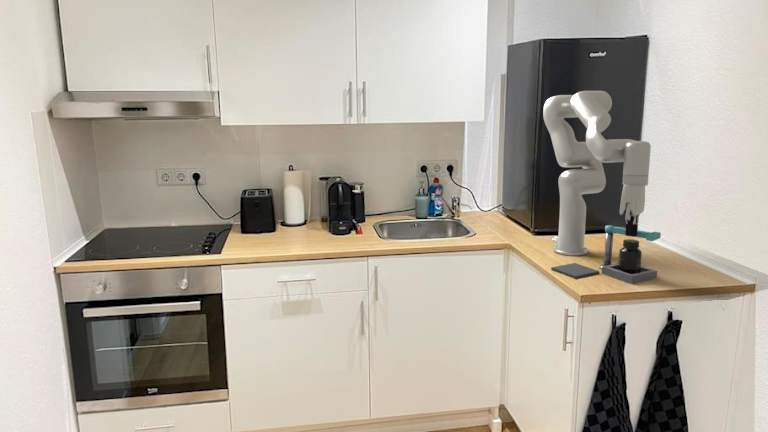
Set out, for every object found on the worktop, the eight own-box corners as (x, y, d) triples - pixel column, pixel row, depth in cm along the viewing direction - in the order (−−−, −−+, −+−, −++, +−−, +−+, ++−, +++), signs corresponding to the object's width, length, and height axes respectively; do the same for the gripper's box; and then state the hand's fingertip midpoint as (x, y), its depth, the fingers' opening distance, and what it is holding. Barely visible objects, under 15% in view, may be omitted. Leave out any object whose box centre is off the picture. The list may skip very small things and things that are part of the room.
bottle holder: (601, 273, 190) (602, 266, 189) (626, 268, 195) (627, 261, 195) (631, 283, 180) (632, 276, 179) (656, 277, 185) (657, 270, 184)
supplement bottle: (634, 272, 191) (637, 238, 188) (643, 278, 184) (647, 243, 182) (614, 272, 191) (616, 238, 188) (623, 279, 184) (626, 243, 181)
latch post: (596, 267, 196) (598, 231, 194) (606, 265, 199) (609, 229, 196) (607, 271, 192) (610, 234, 189) (618, 269, 194) (620, 233, 191)
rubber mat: (551, 269, 195) (551, 267, 195) (574, 265, 200) (574, 262, 200) (575, 278, 185) (575, 276, 185) (599, 273, 190) (599, 271, 190)
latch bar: (601, 232, 192) (601, 227, 191) (609, 229, 196) (609, 224, 195) (652, 241, 179) (652, 235, 179) (660, 237, 183) (660, 232, 183)
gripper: (631, 176, 189) (627, 230, 192) (614, 181, 178) (611, 238, 181) (654, 178, 184) (650, 233, 187) (639, 183, 173) (635, 242, 177)
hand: (631, 235), depth 184 cm, fingers closed
